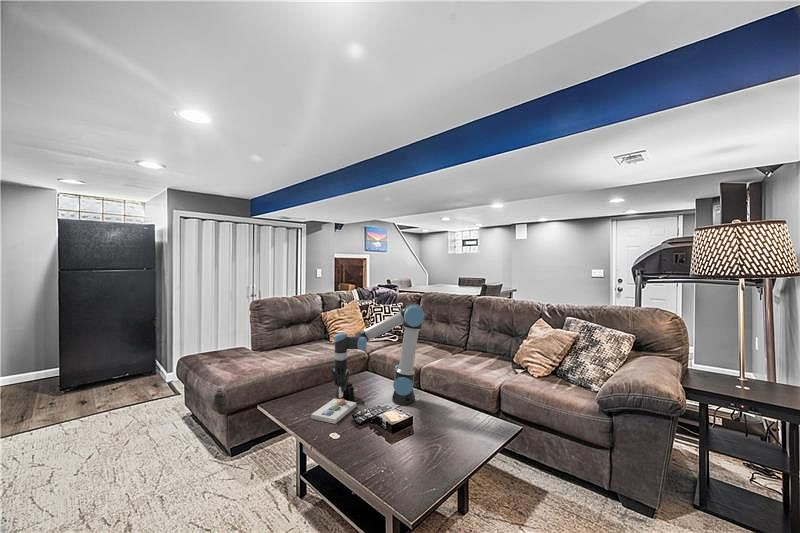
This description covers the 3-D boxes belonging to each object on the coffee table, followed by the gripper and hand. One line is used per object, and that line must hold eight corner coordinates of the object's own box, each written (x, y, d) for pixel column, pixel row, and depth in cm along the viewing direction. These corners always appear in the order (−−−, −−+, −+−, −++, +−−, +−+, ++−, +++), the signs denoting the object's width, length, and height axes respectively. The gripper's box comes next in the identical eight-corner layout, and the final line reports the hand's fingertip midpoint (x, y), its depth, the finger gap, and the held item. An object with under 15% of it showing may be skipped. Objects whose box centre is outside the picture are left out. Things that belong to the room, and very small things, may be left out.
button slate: (333, 415, 195) (333, 410, 195) (329, 419, 191) (329, 414, 191) (326, 414, 197) (326, 409, 197) (322, 417, 193) (322, 412, 192)
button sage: (340, 408, 202) (340, 403, 202) (335, 412, 197) (335, 407, 197) (333, 407, 204) (333, 402, 203) (329, 410, 199) (329, 405, 199)
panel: (356, 406, 209) (356, 402, 209) (335, 423, 186) (335, 419, 186) (334, 402, 215) (334, 398, 214) (311, 418, 192) (311, 414, 192)
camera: (333, 396, 224) (333, 381, 224) (349, 393, 229) (349, 379, 229) (339, 404, 212) (339, 388, 212) (355, 401, 216) (355, 386, 216)
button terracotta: (346, 404, 208) (346, 399, 208) (342, 407, 204) (342, 402, 204) (339, 402, 210) (339, 398, 210) (335, 406, 206) (335, 401, 205)
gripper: (353, 358, 207) (353, 395, 207) (335, 355, 211) (335, 392, 212) (347, 361, 200) (347, 400, 200) (328, 359, 204) (328, 397, 205)
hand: (341, 396), depth 206 cm, fingers closed
